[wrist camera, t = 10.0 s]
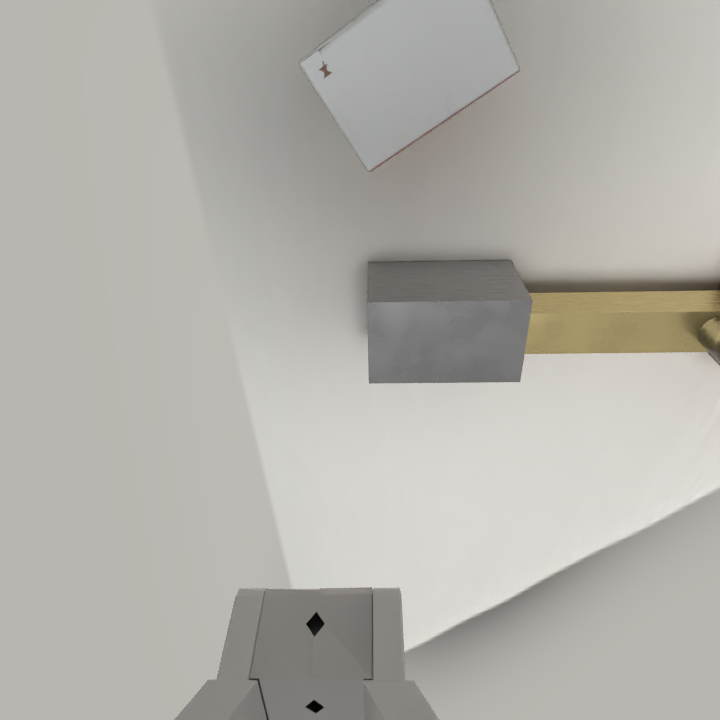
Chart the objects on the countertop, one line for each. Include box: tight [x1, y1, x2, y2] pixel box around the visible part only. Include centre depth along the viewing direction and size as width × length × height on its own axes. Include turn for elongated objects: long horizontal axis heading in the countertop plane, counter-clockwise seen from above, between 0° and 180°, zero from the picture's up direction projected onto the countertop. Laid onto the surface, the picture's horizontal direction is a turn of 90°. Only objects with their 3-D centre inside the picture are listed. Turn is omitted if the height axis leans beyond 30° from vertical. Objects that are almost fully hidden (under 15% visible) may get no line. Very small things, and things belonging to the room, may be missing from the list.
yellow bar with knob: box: [524, 290, 720, 363], centre depth 35 cm, size 3×20×8 cm, turn 91°
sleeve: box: [367, 260, 533, 383], centre depth 38 cm, size 6×10×6 cm, turn 91°
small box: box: [299, 0, 520, 172], centre depth 28 cm, size 8×6×10 cm
